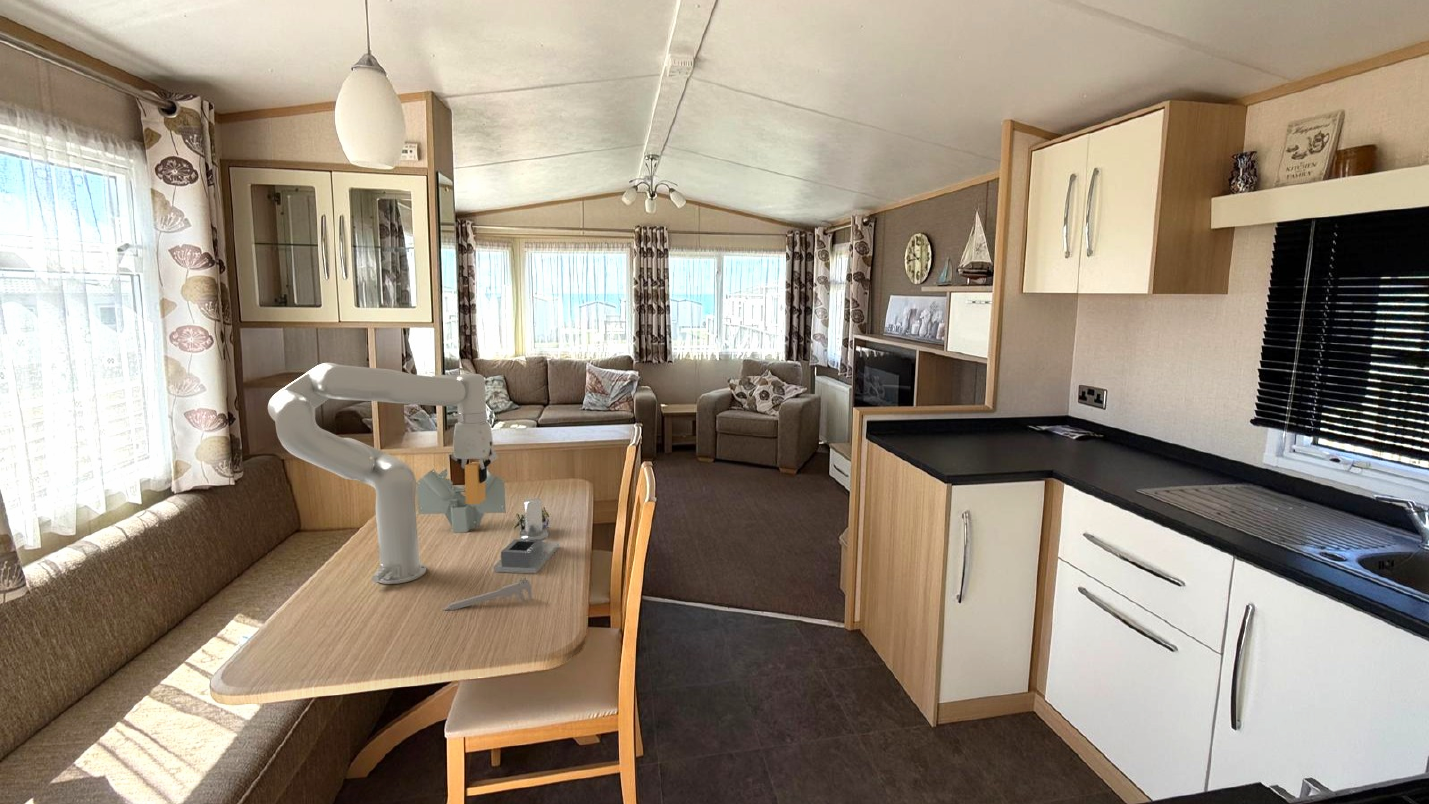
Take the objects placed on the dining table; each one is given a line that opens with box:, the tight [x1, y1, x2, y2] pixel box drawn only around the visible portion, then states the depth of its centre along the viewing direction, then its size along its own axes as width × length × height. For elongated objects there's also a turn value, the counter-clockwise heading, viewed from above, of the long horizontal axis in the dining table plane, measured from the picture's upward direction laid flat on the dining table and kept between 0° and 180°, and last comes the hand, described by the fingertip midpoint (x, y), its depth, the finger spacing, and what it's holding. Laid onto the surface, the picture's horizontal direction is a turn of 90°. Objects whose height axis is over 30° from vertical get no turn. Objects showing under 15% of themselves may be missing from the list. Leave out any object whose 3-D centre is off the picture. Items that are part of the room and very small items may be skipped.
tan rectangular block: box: [464, 461, 485, 504], centre depth 191 cm, size 5×4×11 cm
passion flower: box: [513, 507, 550, 535], centre depth 210 cm, size 11×11×12 cm
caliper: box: [443, 576, 533, 611], centre depth 163 cm, size 20×1×6 cm, turn 106°
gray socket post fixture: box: [493, 497, 560, 575], centre depth 190 cm, size 19×12×16 cm, turn 174°
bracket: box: [416, 467, 507, 533], centre depth 214 cm, size 28×7×20 cm, turn 93°
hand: (475, 480), depth 191 cm, fingers closed on tan rectangular block, 3 cm apart
